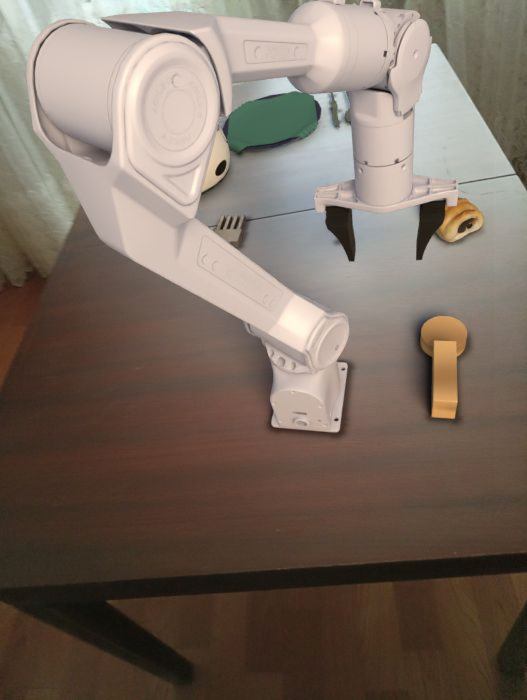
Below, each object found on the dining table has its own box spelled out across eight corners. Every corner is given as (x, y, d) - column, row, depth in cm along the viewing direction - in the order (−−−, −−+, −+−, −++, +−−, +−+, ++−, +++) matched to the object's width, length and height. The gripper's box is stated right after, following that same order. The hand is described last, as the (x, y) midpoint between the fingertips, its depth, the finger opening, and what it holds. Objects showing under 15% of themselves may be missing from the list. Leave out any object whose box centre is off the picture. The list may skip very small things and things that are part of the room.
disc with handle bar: (420, 325, 63) (421, 306, 60) (464, 326, 61) (468, 307, 58) (418, 416, 55) (419, 399, 53) (468, 420, 54) (472, 402, 51)
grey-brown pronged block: (224, 292, 74) (221, 287, 73) (194, 292, 75) (191, 287, 74) (248, 220, 83) (246, 214, 82) (221, 221, 85) (219, 215, 84)
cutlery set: (226, 113, 107) (223, 103, 105) (367, 83, 102) (366, 71, 101) (222, 165, 95) (219, 154, 93) (382, 133, 90) (382, 121, 88)
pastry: (409, 213, 76) (410, 192, 73) (448, 196, 76) (450, 174, 73) (447, 247, 70) (449, 225, 67) (488, 228, 70) (493, 206, 68)
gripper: (461, 120, 48) (449, 230, 59) (314, 134, 53) (327, 234, 63) (464, 162, 44) (451, 272, 55) (304, 174, 48) (320, 274, 59)
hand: (385, 255), depth 59 cm, fingers open, 7 cm apart
